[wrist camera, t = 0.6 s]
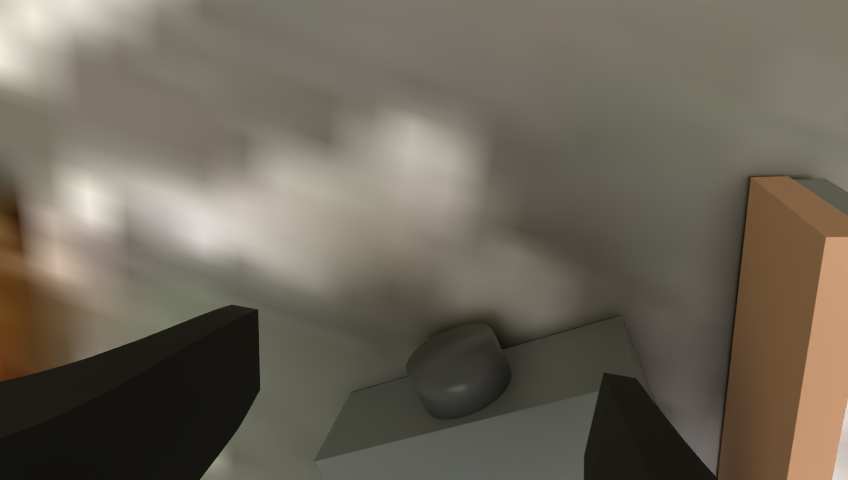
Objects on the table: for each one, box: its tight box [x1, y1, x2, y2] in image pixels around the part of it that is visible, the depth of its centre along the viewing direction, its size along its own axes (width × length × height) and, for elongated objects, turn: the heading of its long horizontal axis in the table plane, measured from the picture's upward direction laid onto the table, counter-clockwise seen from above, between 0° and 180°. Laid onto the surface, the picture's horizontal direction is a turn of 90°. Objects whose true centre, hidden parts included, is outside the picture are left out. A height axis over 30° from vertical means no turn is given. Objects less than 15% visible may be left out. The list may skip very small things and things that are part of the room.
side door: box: [718, 176, 848, 480], centre depth 17 cm, size 14×2×5 cm, turn 5°
